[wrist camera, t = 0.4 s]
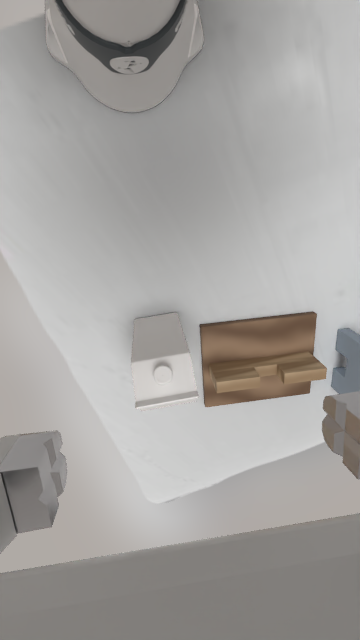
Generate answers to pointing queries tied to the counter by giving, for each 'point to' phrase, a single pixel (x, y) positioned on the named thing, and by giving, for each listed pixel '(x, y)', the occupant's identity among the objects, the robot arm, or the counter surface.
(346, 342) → the slotted plate
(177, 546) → the robot arm
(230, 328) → the rail stand
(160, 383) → the milk carton
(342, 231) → the counter surface
